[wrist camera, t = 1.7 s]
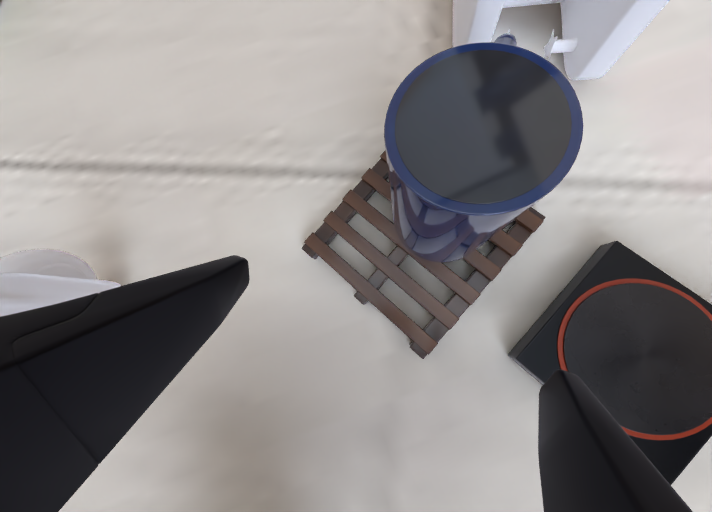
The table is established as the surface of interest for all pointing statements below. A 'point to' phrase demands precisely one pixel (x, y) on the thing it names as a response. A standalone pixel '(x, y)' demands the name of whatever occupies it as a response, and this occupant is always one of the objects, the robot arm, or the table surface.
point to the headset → (45, 280)
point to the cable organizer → (567, 29)
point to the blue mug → (476, 144)
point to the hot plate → (632, 352)
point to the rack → (389, 265)
